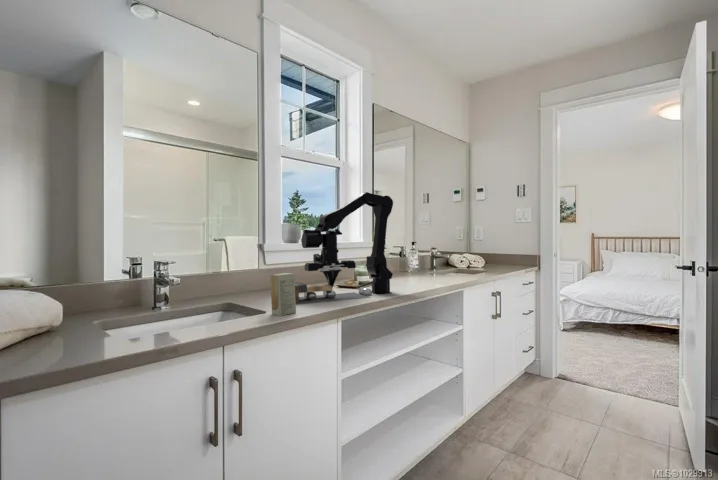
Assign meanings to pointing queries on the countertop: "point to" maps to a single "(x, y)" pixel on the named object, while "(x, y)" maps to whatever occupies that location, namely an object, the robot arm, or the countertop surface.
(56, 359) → the countertop surface
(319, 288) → the oak slab
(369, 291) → the cylinder
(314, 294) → the loose steel roller
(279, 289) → the skincare box
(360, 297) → the rubber mat
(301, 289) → the walnut stop
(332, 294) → the cylinder
